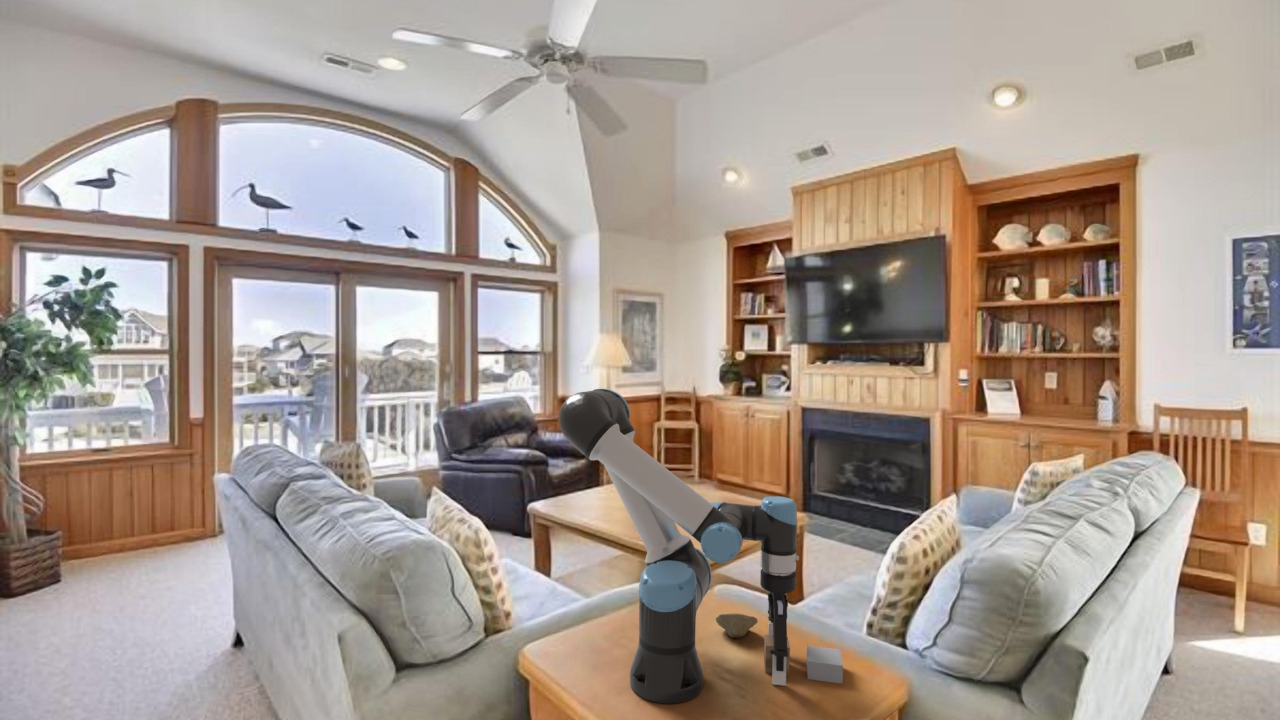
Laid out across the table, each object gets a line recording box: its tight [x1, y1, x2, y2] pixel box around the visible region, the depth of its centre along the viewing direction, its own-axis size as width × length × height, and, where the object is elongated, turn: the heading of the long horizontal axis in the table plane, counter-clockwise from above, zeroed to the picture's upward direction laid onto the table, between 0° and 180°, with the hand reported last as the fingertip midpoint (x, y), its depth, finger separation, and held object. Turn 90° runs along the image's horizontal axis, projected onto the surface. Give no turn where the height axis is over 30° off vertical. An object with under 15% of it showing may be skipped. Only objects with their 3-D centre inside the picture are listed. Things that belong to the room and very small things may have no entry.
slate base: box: [806, 645, 844, 685], centre depth 128 cm, size 7×7×4 cm
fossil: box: [715, 612, 758, 639], centre depth 144 cm, size 9×4×10 cm
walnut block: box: [763, 634, 791, 676], centre depth 130 cm, size 5×5×6 cm
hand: (776, 667), depth 130 cm, fingers open, 13 cm apart
